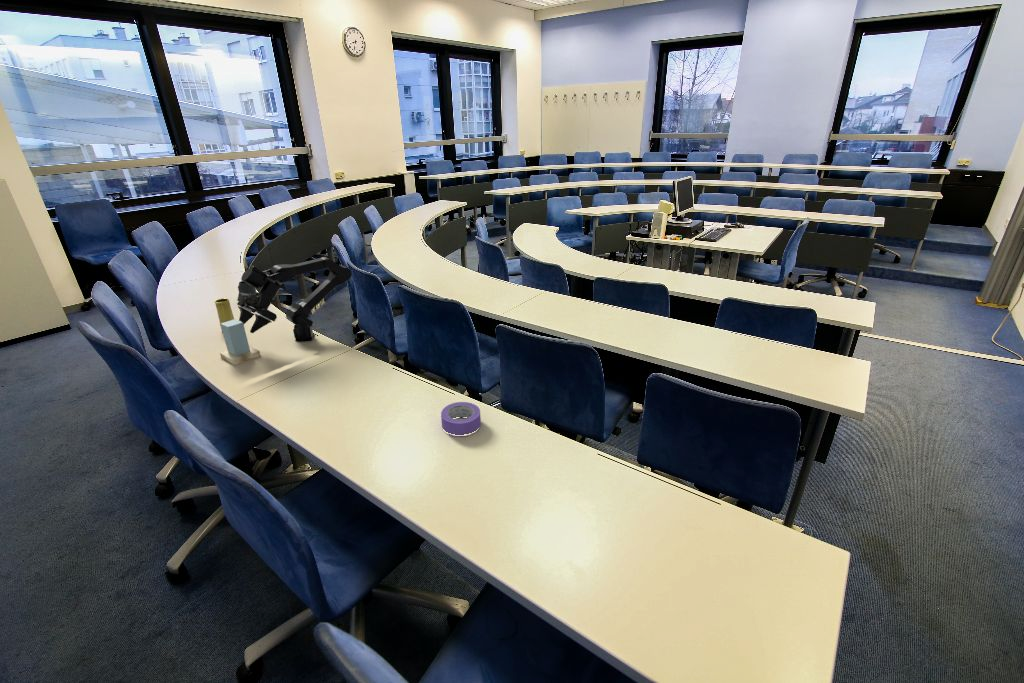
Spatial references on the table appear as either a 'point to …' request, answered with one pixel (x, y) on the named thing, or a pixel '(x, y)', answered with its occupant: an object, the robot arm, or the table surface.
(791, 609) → the table surface
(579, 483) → the table surface
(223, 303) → the vase
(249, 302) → the robot arm
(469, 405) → the tape roll
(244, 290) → the mug
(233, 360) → the birch slab
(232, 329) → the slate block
